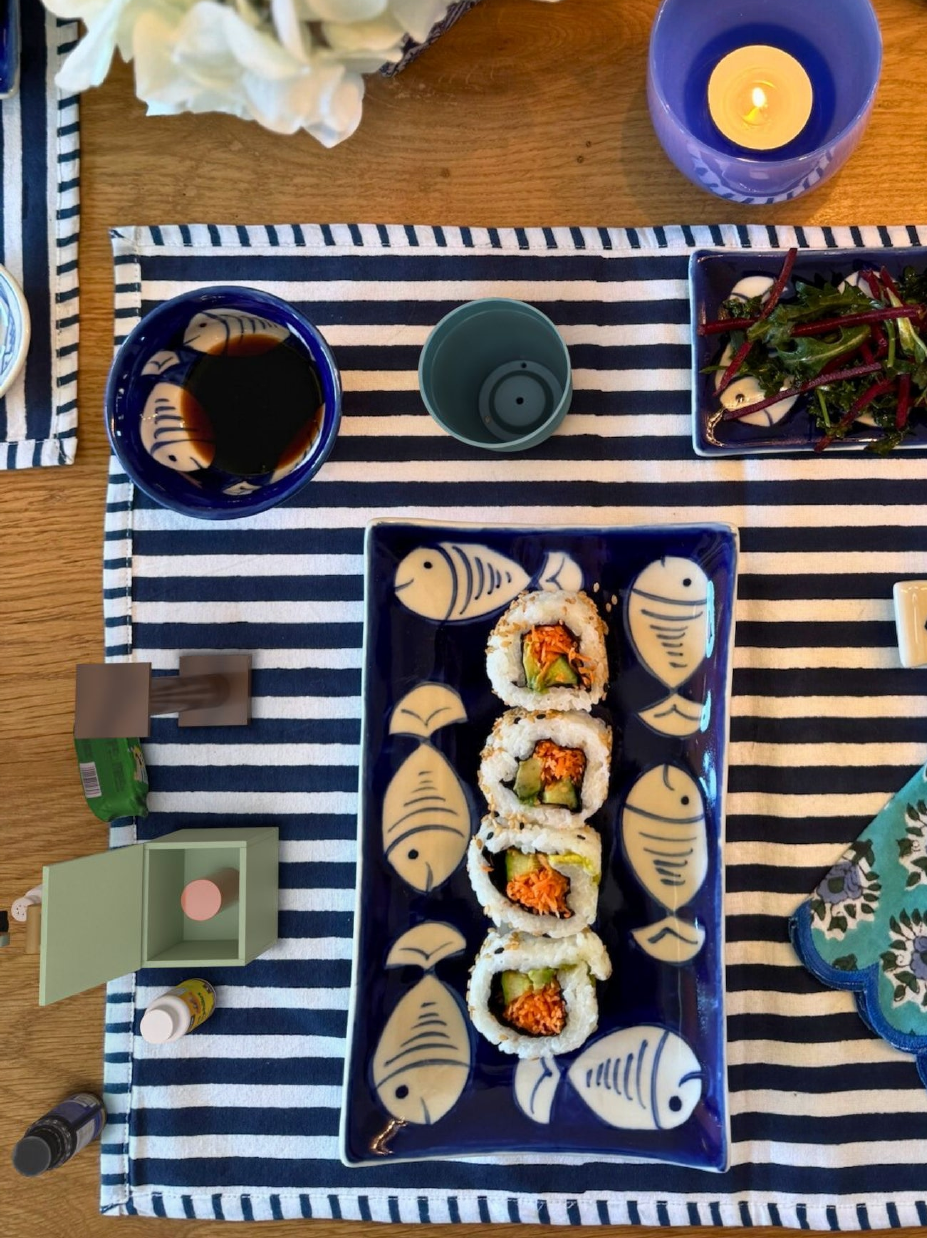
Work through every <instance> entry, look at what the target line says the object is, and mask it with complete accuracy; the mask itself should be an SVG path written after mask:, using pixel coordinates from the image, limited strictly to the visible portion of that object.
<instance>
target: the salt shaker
mask: <svg viewBox="0 0 927 1238" xmlns="http://www.w3.org/2000/svg"><path fill="white" fill-rule="evenodd" d="M36 903H42V883H40V884H38V885H37V886H35V887H33V888H31V889H29V890H28V891H27V892H26V894H25V895H24V896H23V897H18V898H17V899H16V900H15V901H14V902H13V903H12V905H11V910H10V912H11V915H12V917H13V918H14V919H15V920H16V921H18V922H26V912H27V906H28V905H31V904H36Z"/></svg>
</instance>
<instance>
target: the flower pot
mask: <svg viewBox="0 0 927 1238" xmlns="http://www.w3.org/2000/svg"><path fill="white" fill-rule="evenodd" d="M524 364H525V367H523V365H524ZM417 378H418V381H417V382H418V386H419V392H420V396H421V399H422V402H423V404H424V406H425V408H426V410H427V412H428V413H429V415H430V416H431V418H432V419H433V421H434V422H435V423H436V424H437V425H438V426H439V427H440V428H441V429H442V430H443V431H445V432H446V433H447V434H448V435H450V436H451V437H453V438H454V439H457V440H458V441H460V442H463V443H465V444H468V445H469V446H473V447H478V448H483V449H486V450H490V451H495V452H505V453H506V452H507V453H508V452H509V453H510V452H520V451H524V450H528V449H531V448H533V447H535V446H537V445H539V444H541V443H543V442H544V441H546V440H547V439H549V438H550V437H551V436H552V435H553V434H554V433H555V432H556V431H557V430H558V429H559V427H561V425H562V423H563V421H564V420H565V418H566V416H567V415H568V412H569V411H570V410H569V409H570V407H571V403H572V397H573V387H574V386H573V383H574V382H573V374H572V365H571V356H570V353H569V350H568V346H567V344H566V341H565V339H564V337H563V335H562V333H561V332H560V330H559V328H558V327H557V326H556V324H555V323H554V322H553V321H552V320H551V319H550V318H549V317H548V316H547V315H546V314H544V313H543V312H542V311H541V310H539V309H538V308H536V307H534V306H533V305H531V304H528V303H526V302H523V301H521V300H517V299H515V298H509V297H502V296H501V297H499V296H495V297H491V296H490V297H484V298H479V299H474V300H472V301H469V302H466V303H464V304H462V305H460V306H458V307H456V308H454V309H453V310H451V311H450V312H449V313H447V314H446V315H445V316H443V318H441V319H440V321H438V322H437V323H436V325H435V326H434V327H433V329H432V330H431V331H430V333H429V335H428V336H427V338H426V340H425V342H424V345H423V347H422V350H421V352H420V356H419V360H418V368H417ZM518 399H522V400H523V402H522V403H518V402H517V400H518ZM487 418H489V419H490V420H489V421H486V419H487Z"/></svg>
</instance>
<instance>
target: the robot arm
mask: <svg viewBox="0 0 927 1238" xmlns="http://www.w3.org/2000/svg"><path fill="white" fill-rule="evenodd" d="M9 929H10V921H9V911H8V910H7V909H5V910H4V909H3V910H0V948H5V947H8V946H10V945H11V932H9Z"/></svg>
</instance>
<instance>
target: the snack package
mask: <svg viewBox="0 0 927 1238" xmlns="http://www.w3.org/2000/svg"><path fill="white" fill-rule="evenodd" d="M74 729H75V722H73V726H72V736H73V744H74V750H75V754H76V758H77V765H78V770H79V771H78V772H79V778H80V781H81V786H82V791H83V795H84V799H85V801H86V804H87V807H88V808H89V810H90V811H91V813H92V814H93V815H94V816H95V818H97V819H99V820H100V821H101V822H103V823H107V824H108V823H113V822H114V821H116V820H117V819H119V818H122V817H130V816H131V817H132V816H139V817H142V818H143V819H142V822H144V821H145V819H146V818H147V817H148V816H150V809H149V807H148V804H147V797H148V793H149V779H148V773H147V769H146V763H145V759H144V754H143V749H142V745H141V740H140V737H130V738H87V739H74Z"/></svg>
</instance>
